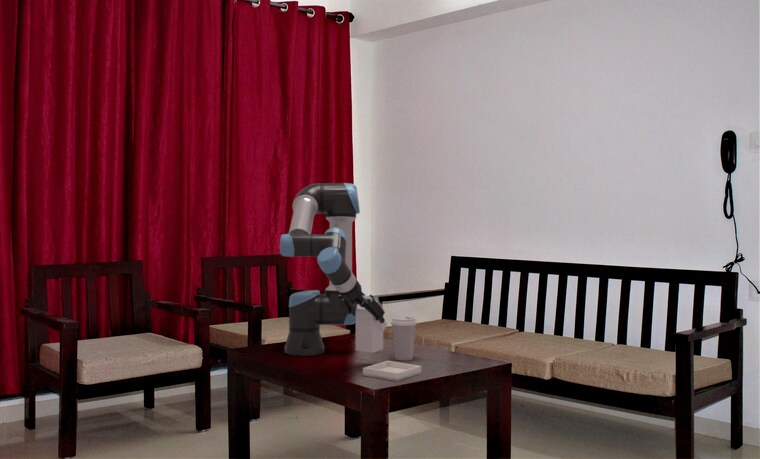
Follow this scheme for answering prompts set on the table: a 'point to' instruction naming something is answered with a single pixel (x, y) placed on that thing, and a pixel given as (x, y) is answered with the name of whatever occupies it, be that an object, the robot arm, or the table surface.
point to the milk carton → (368, 330)
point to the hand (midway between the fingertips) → (375, 325)
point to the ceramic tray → (392, 370)
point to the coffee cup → (403, 337)
